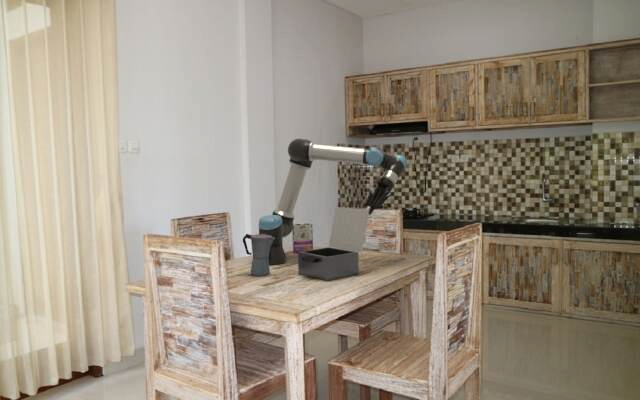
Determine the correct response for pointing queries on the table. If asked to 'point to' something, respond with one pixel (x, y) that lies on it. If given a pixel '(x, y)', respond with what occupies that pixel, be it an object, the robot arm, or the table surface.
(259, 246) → the moka pot
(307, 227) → the candy bar box
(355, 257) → the dark grey storage box
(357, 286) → the table surface
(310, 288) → the table surface
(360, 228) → the grey box lid
